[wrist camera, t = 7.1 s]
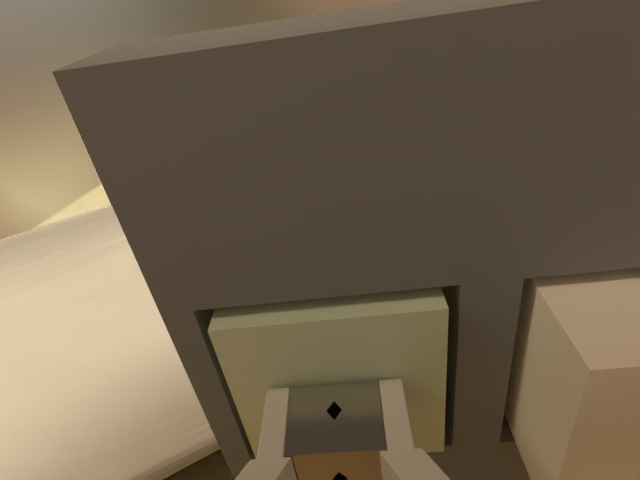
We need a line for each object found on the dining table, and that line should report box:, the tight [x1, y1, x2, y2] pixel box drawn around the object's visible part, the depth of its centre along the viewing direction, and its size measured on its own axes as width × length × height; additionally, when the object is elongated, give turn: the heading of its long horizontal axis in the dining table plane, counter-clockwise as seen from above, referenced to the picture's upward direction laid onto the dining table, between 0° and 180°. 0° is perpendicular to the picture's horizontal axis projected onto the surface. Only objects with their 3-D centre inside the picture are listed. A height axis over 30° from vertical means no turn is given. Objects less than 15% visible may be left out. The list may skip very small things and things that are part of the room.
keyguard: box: [53, 0, 640, 480], centre depth 13 cm, size 20×7×17 cm, turn 90°
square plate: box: [0, 205, 220, 480], centre depth 25 cm, size 27×27×4 cm
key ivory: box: [504, 268, 640, 480], centre depth 10 cm, size 5×4×5 cm
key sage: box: [208, 287, 449, 459], centre depth 12 cm, size 5×4×5 cm
